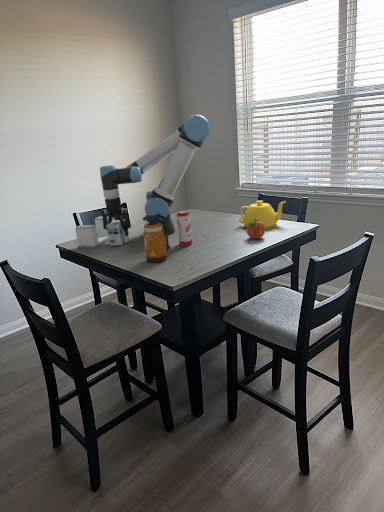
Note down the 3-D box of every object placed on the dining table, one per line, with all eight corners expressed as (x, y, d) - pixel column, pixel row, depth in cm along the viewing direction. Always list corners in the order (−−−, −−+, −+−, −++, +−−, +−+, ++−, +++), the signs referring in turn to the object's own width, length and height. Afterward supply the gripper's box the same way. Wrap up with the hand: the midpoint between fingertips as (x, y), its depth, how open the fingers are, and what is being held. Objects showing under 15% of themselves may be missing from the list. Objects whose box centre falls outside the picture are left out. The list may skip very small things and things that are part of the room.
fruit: (269, 237, 187) (268, 216, 184) (257, 242, 180) (257, 221, 177) (254, 234, 193) (253, 215, 189) (242, 239, 186) (241, 219, 183)
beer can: (194, 242, 189) (191, 210, 184) (190, 246, 184) (186, 213, 179) (182, 242, 191) (179, 210, 186) (177, 246, 186) (174, 213, 181)
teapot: (288, 222, 211) (288, 196, 206) (284, 230, 195) (283, 203, 191) (242, 222, 219) (241, 198, 215) (235, 230, 204) (234, 204, 199)
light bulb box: (121, 245, 194) (118, 224, 190) (109, 246, 195) (105, 225, 192) (129, 239, 204) (126, 219, 200) (117, 239, 205) (114, 219, 202)
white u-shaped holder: (117, 235, 215) (114, 216, 211) (95, 248, 194) (91, 227, 191) (101, 235, 218) (97, 216, 214) (78, 248, 197) (74, 227, 194)
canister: (146, 257, 173) (141, 213, 167) (171, 254, 174) (166, 210, 167) (146, 264, 165) (140, 217, 158) (172, 261, 165) (167, 215, 159)
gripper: (133, 195, 192) (140, 239, 200) (98, 196, 199) (106, 240, 206) (126, 198, 186) (134, 244, 193) (90, 199, 192) (98, 244, 199)
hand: (119, 242), depth 199 cm, fingers closed on light bulb box, 7 cm apart
